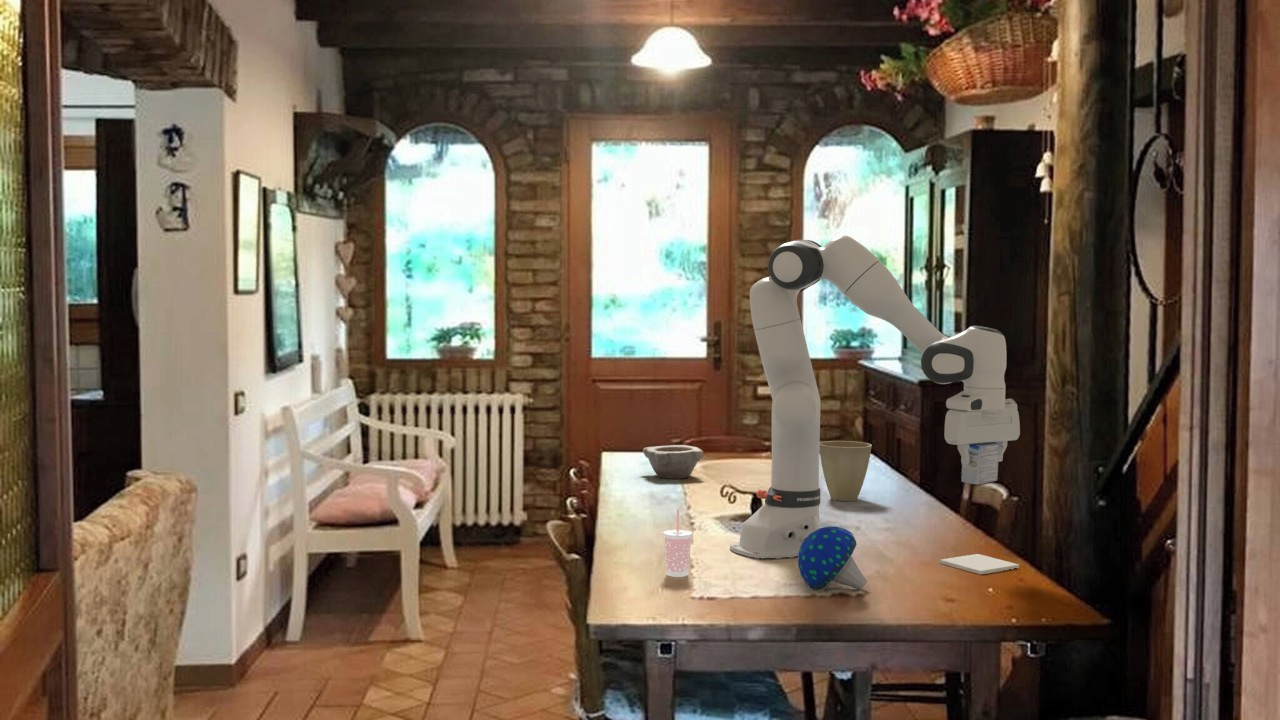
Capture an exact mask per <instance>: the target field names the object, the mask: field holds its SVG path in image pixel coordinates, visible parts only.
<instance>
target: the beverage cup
mask: <svg viewBox="0 0 1280 720" xmlns="http://www.w3.org/2000/svg"><path fill="white" fill-rule="evenodd" d="M663 537H664V551H665V574H666V576H668V577H674V578H682V577H683V578H684V577H687V576H688V575H689V566H690V565H689V564H690V553H691V552H690V551H691V540H692V537H693V532H692V531H690V530H686V529H680V509H679V508H676V529H668V530H664V531H663Z"/></svg>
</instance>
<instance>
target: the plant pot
mask: <svg viewBox="0 0 1280 720" xmlns="http://www.w3.org/2000/svg"><path fill="white" fill-rule="evenodd" d="M872 447H873V446H872V444H871V443H868V442H864V441H863V442H862V441H850V440H848V441H847V440H830V441H820V449H819V458H820V462H821V464H820V465H821V467H822V472H823V477H824V482H825V484H826V488H827V490H828V494H829V497H830V500H833V501H837V500H838V502H839V501H840V502H855V501H857V500H858V498H859V495H860V493H861V490H862V488H863V485H864V482H865V478H866V475H867V473H868V472H867V471H868V468H869V463H870V458H871V452H872Z"/></svg>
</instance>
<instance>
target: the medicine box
mask: <svg viewBox="0 0 1280 720" xmlns="http://www.w3.org/2000/svg"><path fill="white" fill-rule="evenodd" d="M967 450H968V453H969V456H972V460H971V461H972V463H971V464H968V465H965V464H962V463H961V480H960V481H961V482H962V483H966V484H972V485H982V484H986V483H992V482H996V481H998V474H999V473H998V472H999V462H998V458H999V443H996V442H988V443H976V444H969V449H967Z"/></svg>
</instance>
